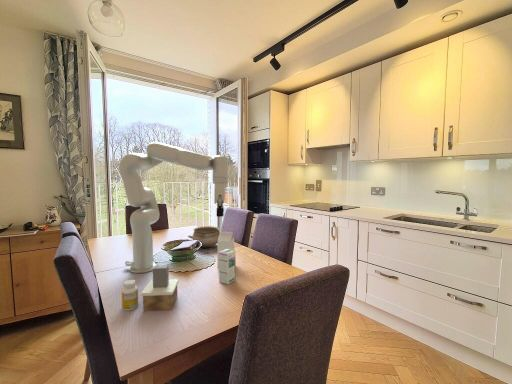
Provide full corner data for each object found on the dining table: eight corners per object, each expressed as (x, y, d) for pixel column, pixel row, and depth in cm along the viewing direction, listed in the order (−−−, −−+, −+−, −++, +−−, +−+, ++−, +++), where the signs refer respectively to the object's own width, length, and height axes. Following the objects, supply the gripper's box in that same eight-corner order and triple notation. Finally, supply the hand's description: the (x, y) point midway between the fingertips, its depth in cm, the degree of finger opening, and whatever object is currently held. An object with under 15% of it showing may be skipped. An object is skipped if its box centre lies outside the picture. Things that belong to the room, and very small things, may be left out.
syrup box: (228, 284, 111) (228, 253, 110) (218, 281, 115) (218, 251, 113) (235, 280, 116) (236, 250, 115) (226, 277, 119) (226, 248, 118)
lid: (140, 295, 89) (140, 273, 88) (150, 282, 100) (150, 262, 99) (172, 294, 90) (171, 272, 89) (178, 281, 101) (178, 261, 100)
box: (143, 311, 90) (142, 295, 89) (152, 297, 100) (151, 282, 99) (171, 309, 91) (171, 294, 90) (177, 296, 101) (177, 282, 100)
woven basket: (220, 241, 182) (220, 225, 181) (228, 248, 165) (228, 230, 164) (185, 245, 172) (185, 227, 171) (190, 253, 155) (190, 234, 154)
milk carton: (230, 269, 129) (230, 234, 128) (217, 268, 130) (217, 233, 129) (234, 264, 136) (234, 230, 134) (221, 263, 137) (221, 230, 136)
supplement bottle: (126, 303, 95) (125, 279, 94) (140, 303, 95) (140, 278, 94) (119, 311, 89) (118, 285, 89) (135, 310, 90) (134, 285, 89)
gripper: (213, 180, 131) (213, 212, 132) (211, 181, 114) (211, 217, 115) (227, 180, 132) (227, 211, 133) (228, 181, 115) (227, 217, 116)
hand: (220, 214), depth 124 cm, fingers open, 9 cm apart
